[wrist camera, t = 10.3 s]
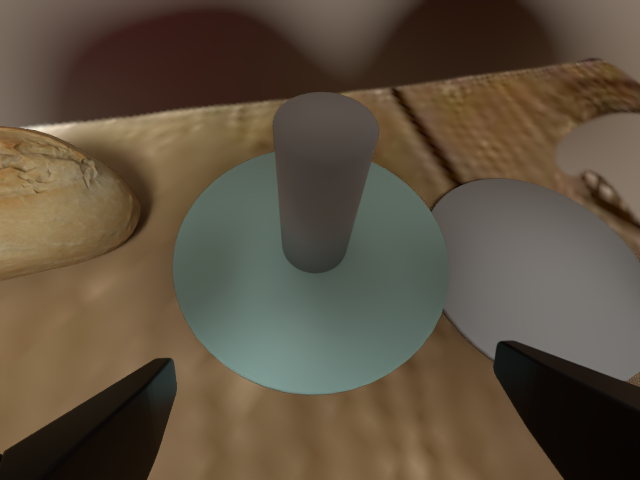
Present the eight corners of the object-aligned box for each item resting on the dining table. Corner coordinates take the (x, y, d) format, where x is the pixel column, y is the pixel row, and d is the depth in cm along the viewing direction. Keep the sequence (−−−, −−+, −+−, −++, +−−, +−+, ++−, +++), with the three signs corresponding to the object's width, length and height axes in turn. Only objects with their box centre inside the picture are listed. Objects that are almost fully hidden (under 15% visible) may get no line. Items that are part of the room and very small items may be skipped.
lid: (484, 242, 20) (606, 120, 12) (337, 477, 13) (396, 546, 5) (300, 128, 24) (303, -16, 16) (120, 263, 17) (-21, 130, 10)
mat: (670, 257, 25) (676, 255, 25) (625, 457, 18) (633, 458, 18) (476, 154, 30) (479, 150, 30) (378, 278, 23) (380, 275, 22)
